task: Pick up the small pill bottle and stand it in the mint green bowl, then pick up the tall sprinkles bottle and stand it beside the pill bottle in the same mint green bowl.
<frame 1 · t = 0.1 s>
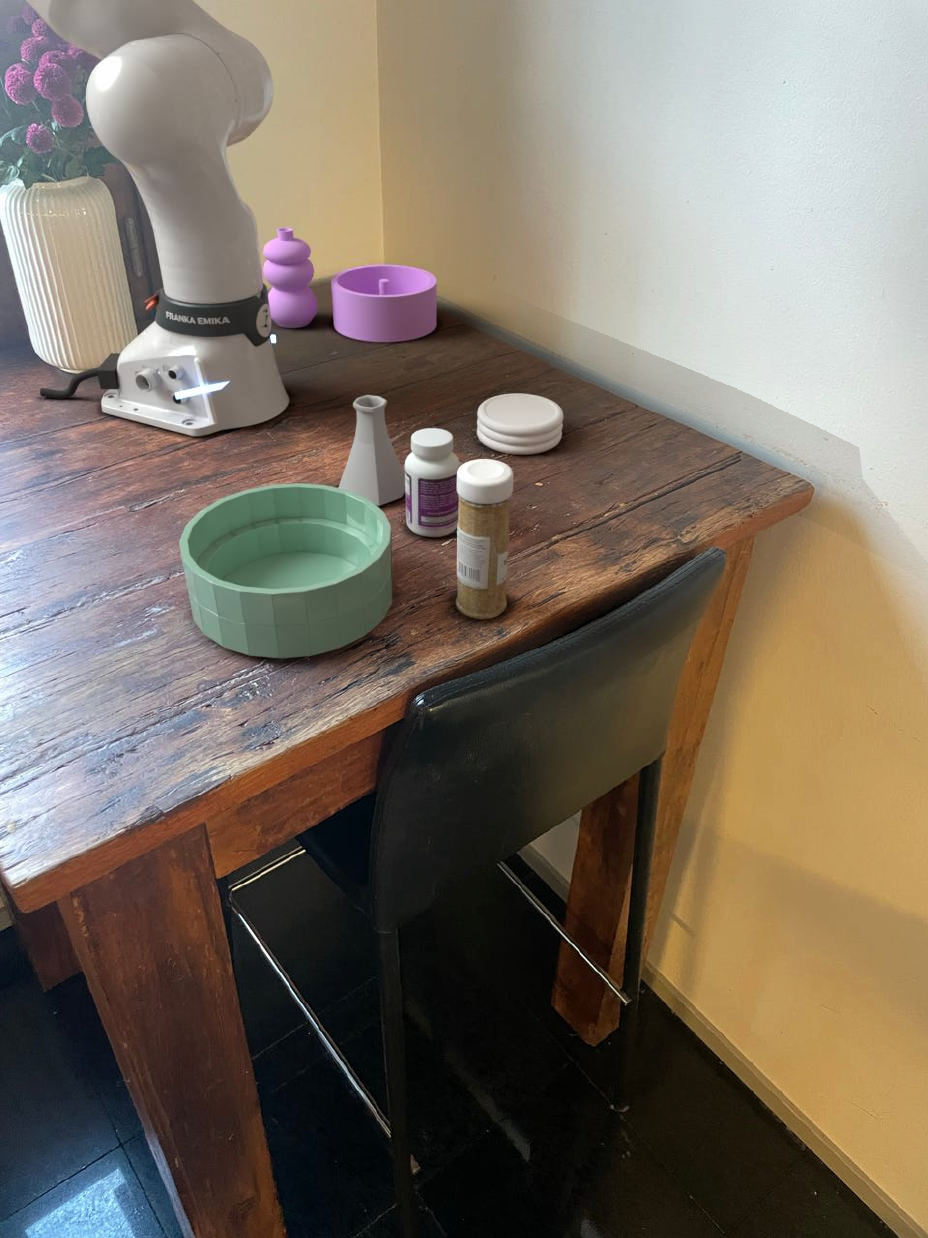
container set: (352, 324, 139), on the table
mint green bowl: (294, 601, 83), on the table
flask: (373, 491, 99), on the table
white round disc stack: (518, 438, 110), on the table
pill bottle: (432, 526, 94), on the table
sprinkles bottle: (480, 607, 83), on the table
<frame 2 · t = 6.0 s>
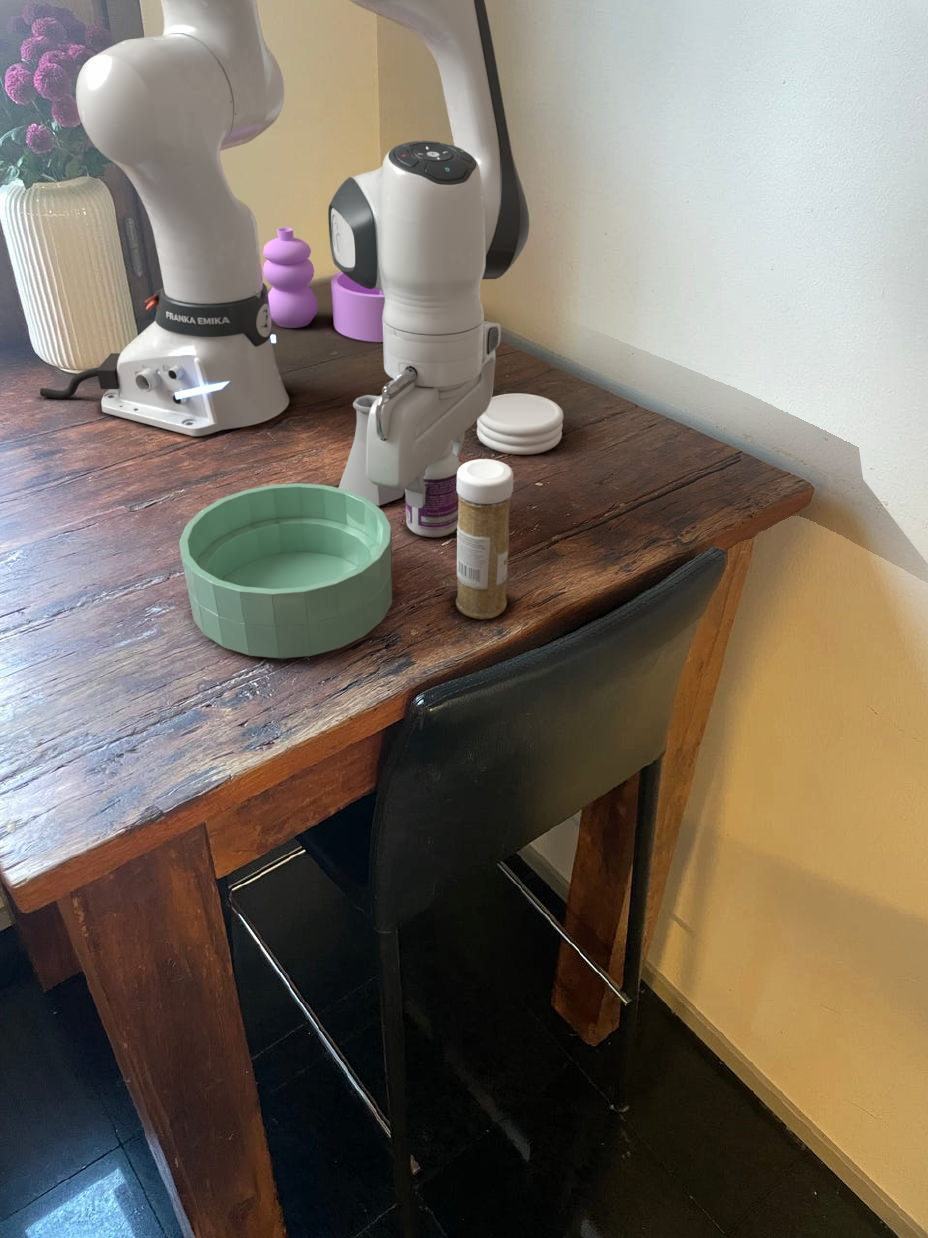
hand: (433, 488, 91), 4 cm above the table, tool pointing down, fingers closed on pill bottle, 5 cm apart
pill bottle: (432, 526, 94), on the table, touching gripper
everything else where it was.
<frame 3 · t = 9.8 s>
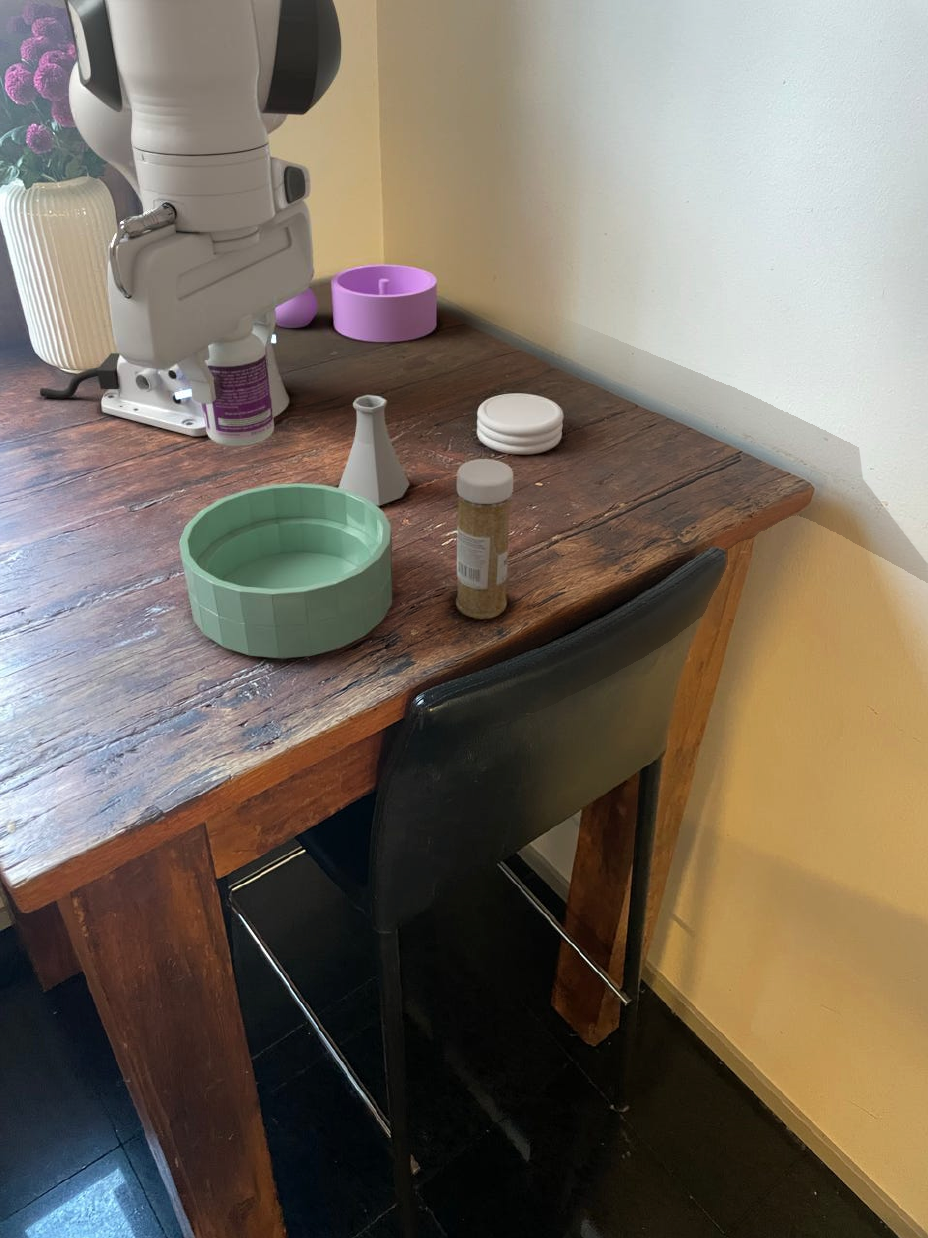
hand: (234, 383, 72), 20 cm above the table, tool pointing down, fingers closed on pill bottle, 5 cm apart
pill bottle: (241, 435, 74), point 15 cm above the table, touching gripper
everything else where it was.
when the fingers open (5 cm above the table, at t = 13.6 s): pill bottle stays where it is, resting on mint green bowl.
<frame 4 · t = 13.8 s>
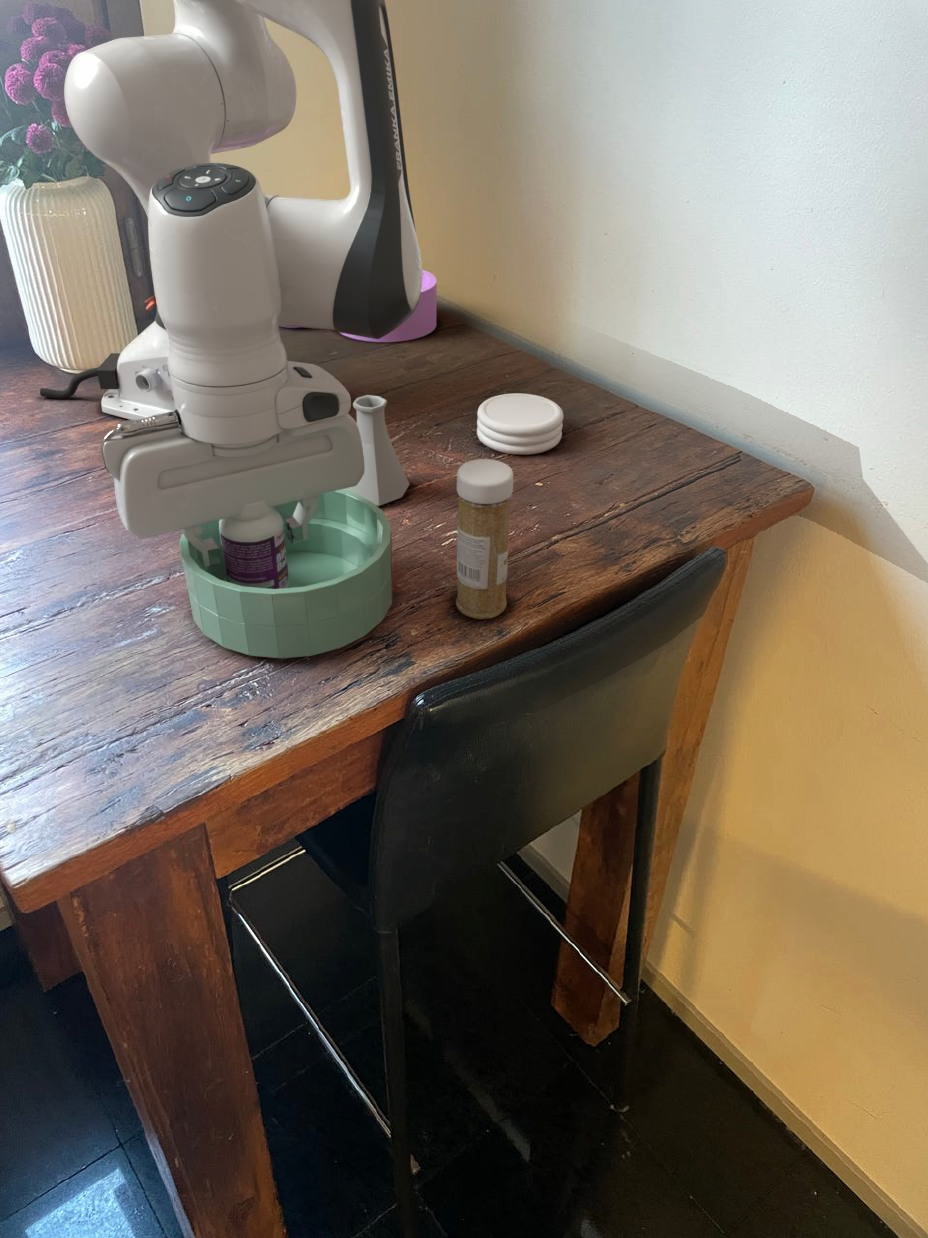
hand: (254, 550, 81), 5 cm above the table, tool pointing down, fingers open, 7 cm apart
pill bottle: (260, 590, 83), resting on mint green bowl
everything else where it was.
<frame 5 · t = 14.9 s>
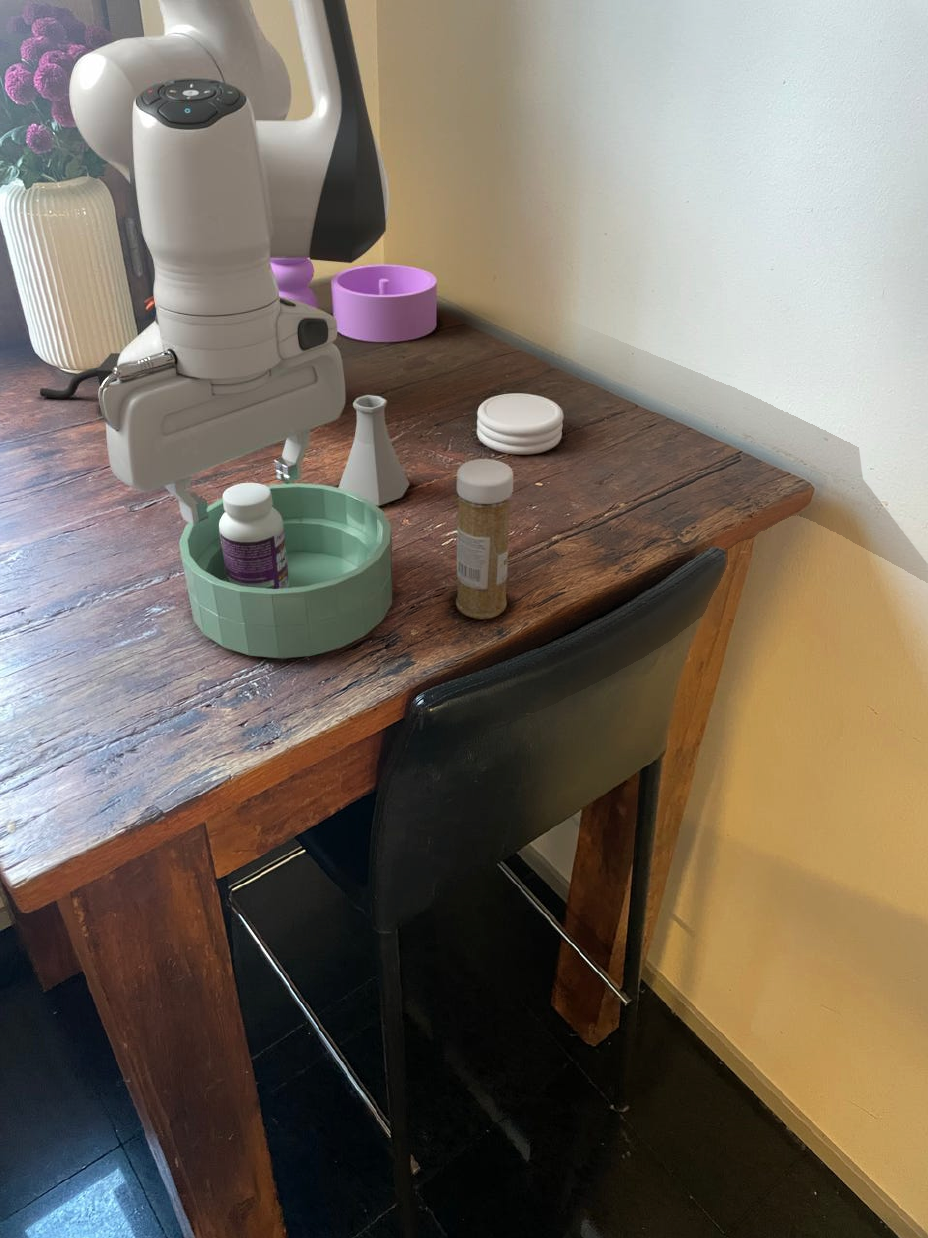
hand: (244, 498, 78), 10 cm above the table, tool pointing down, fingers open, 8 cm apart
nothing on the table moved.
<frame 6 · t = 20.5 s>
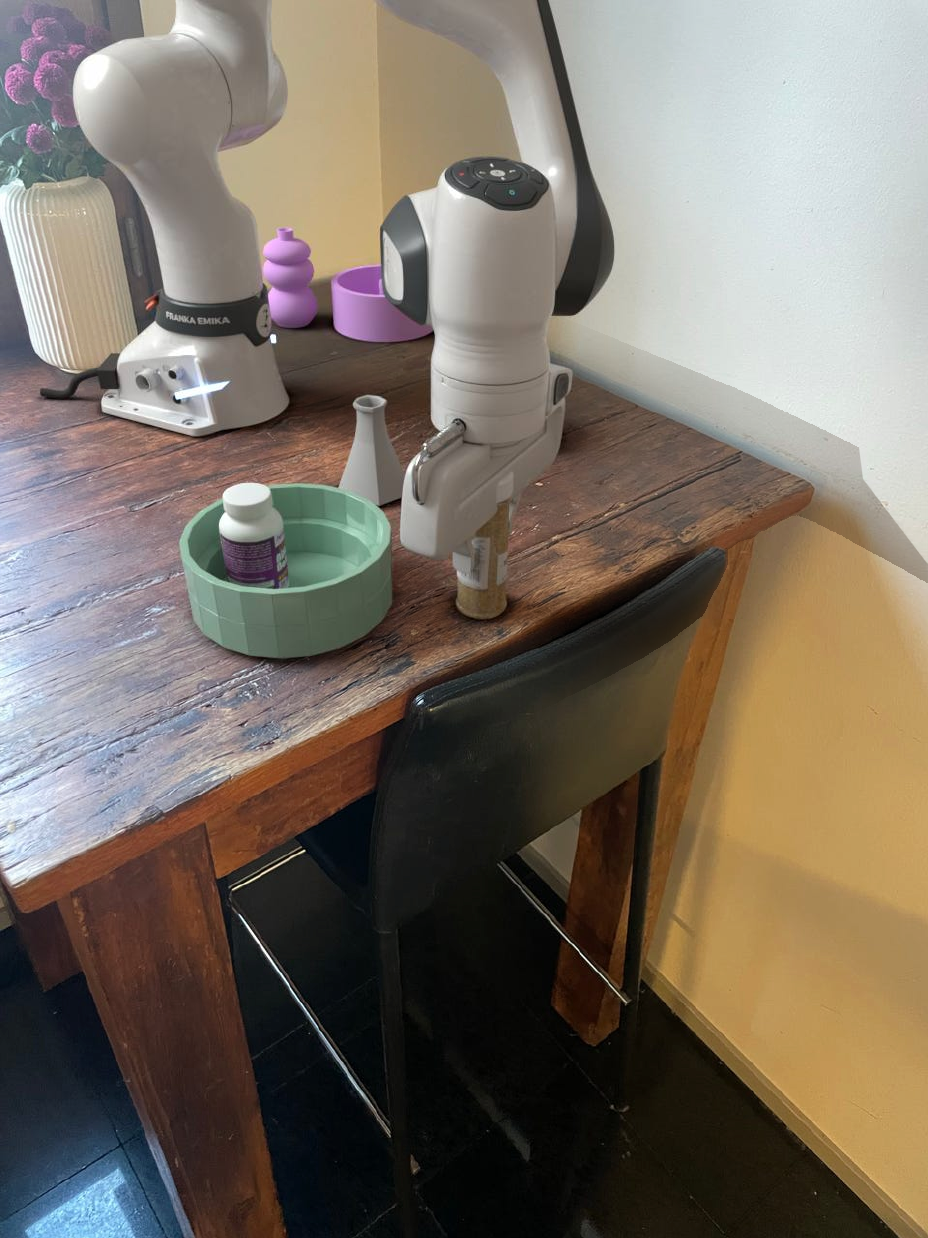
hand: (482, 552, 79), 6 cm above the table, tool pointing down, fingers closed on sprinkles bottle, 4 cm apart
sprinkles bottle: (480, 607, 83), on the table, touching gripper
everything else where it was.
when the fingers open (6 cm above the table, at t = 27.6 s): sprinkles bottle stays where it is, resting on mint green bowl.
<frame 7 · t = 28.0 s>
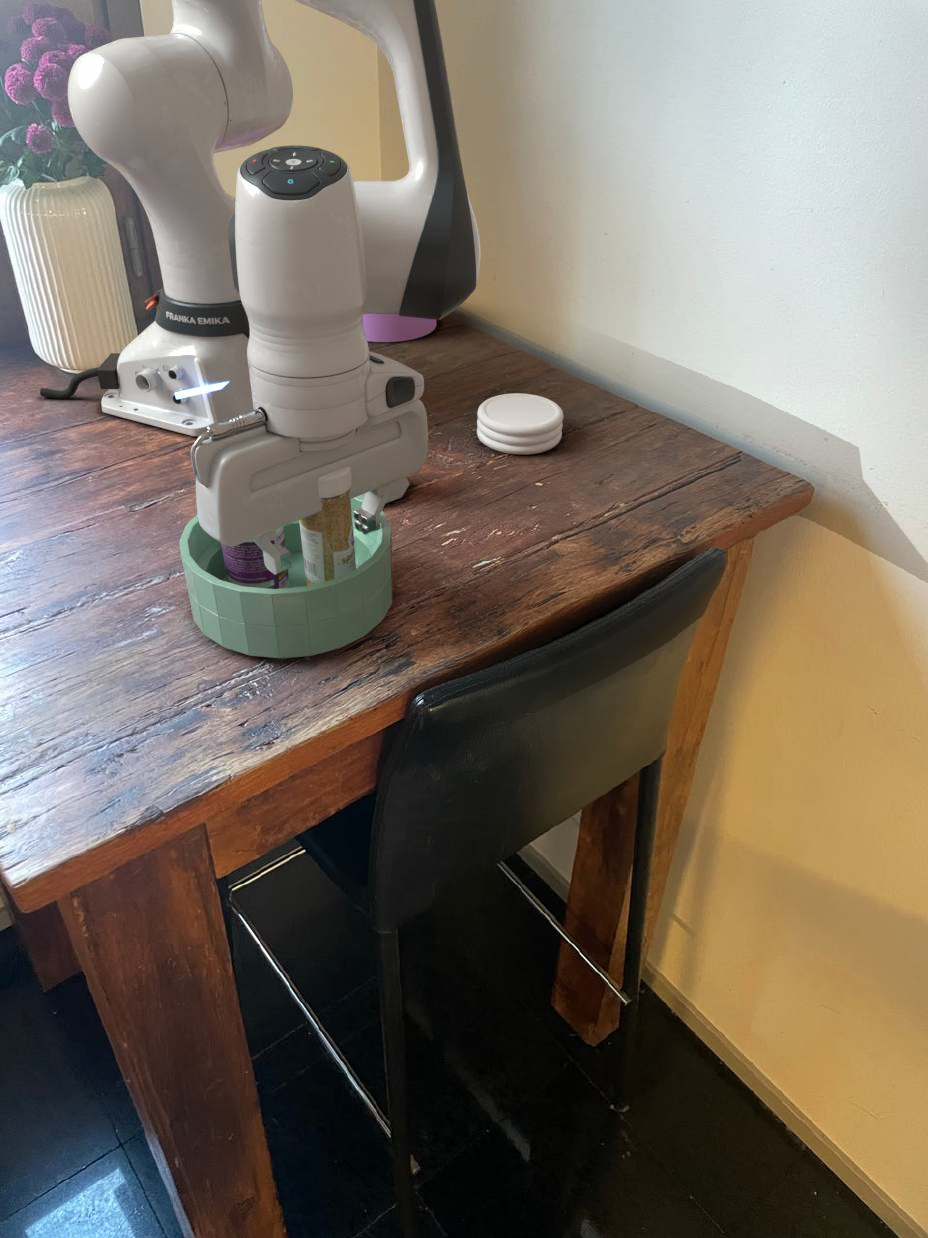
hand: (324, 548, 78), 6 cm above the table, tool pointing down, fingers open, 8 cm apart
sprinkles bottle: (332, 603, 82), resting on mint green bowl
everything else where it was.
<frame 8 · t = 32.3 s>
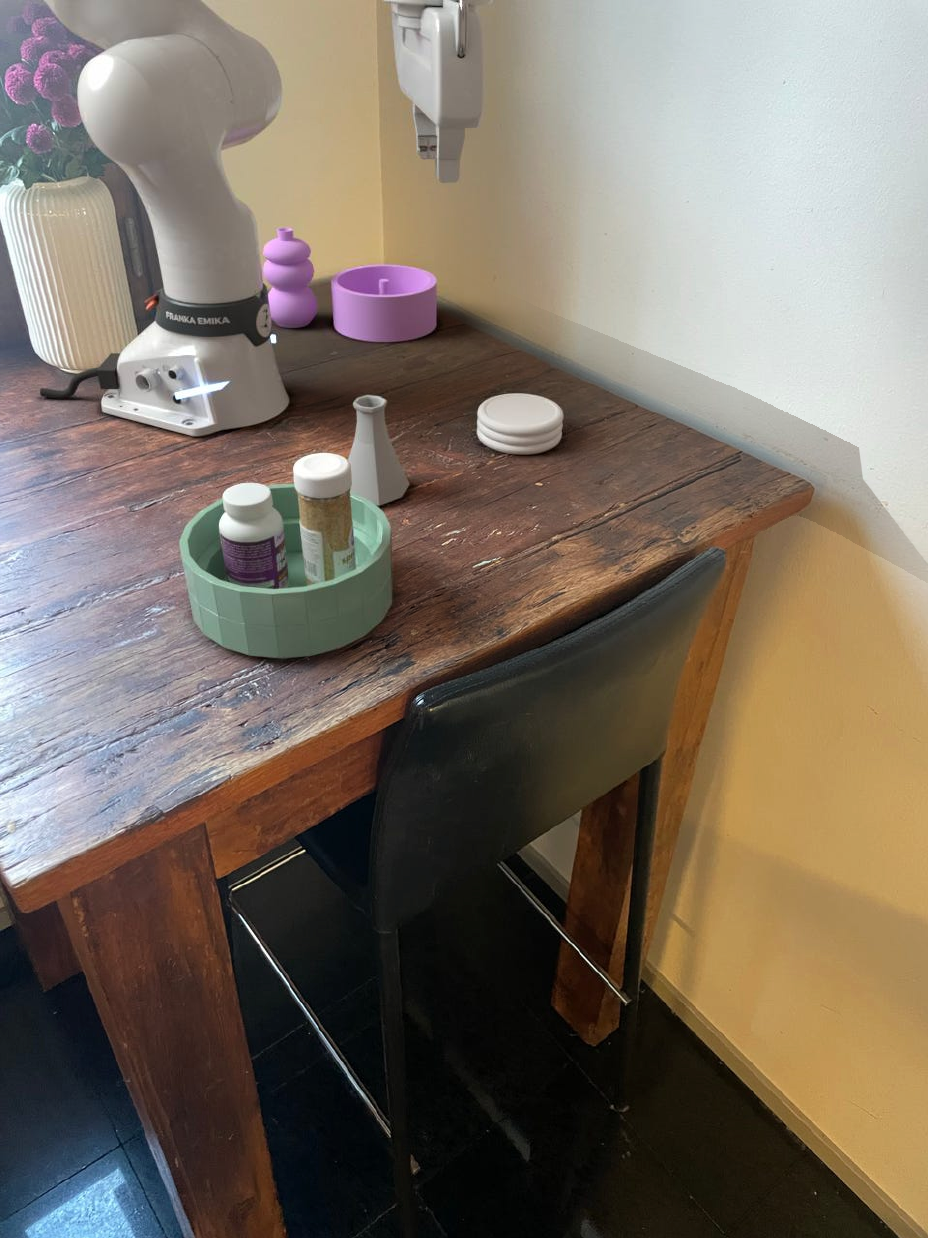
hand: (437, 168, 81), 31 cm above the table, tool pointing down, fingers open, 8 cm apart
nothing on the table moved.
at the end: pill bottle inside the target area in the mint green bowl (3.2 cm from its centre), point 0.4 cm above the mint green bowl's base; sprinkles bottle inside the target area in the mint green bowl (3.7 cm from its centre), point 0.4 cm above the mint green bowl's base; sprinkles bottle tilted 0° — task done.
